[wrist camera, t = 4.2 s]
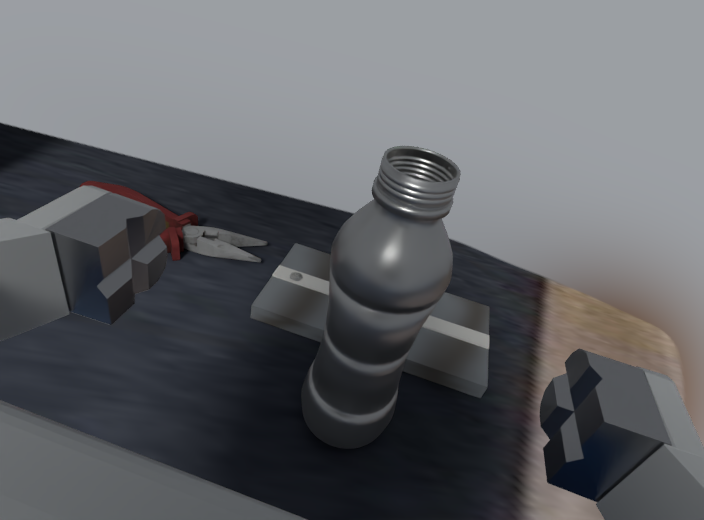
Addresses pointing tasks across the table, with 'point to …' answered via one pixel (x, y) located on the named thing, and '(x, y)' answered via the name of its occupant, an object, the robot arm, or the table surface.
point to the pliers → (190, 231)
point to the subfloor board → (429, 346)
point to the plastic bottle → (380, 296)
